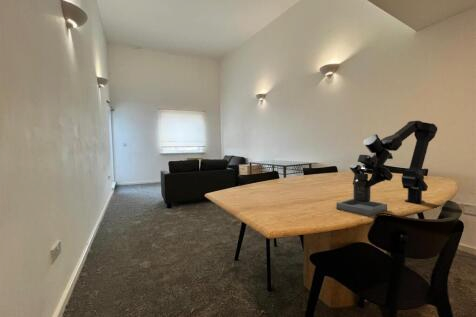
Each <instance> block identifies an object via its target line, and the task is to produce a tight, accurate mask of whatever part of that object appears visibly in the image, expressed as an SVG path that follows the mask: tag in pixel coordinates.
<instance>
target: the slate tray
mask: <svg viewBox="0 0 476 317" xmlns="http://www.w3.org/2000/svg"><path fill="white" fill-rule="evenodd" d="M335 206H336V210H338V211H339V210H340V211H343V212H348V213H351V214H352V213H353V214H357V215H360V216H365V217H368V218H370V217H373V216H376V215H378V214H377V213H379V214H382V213H384V212H386V211H387V212H388V203H384V202H377V201H372V200H370V201H369V202H358V201H355V200H354V199H353V198H349V199H346V200H342V201H339V202H336V205H335Z"/></svg>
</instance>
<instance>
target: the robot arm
mask: <svg viewBox="0 0 476 317" xmlns="http://www.w3.org/2000/svg"><path fill="white" fill-rule="evenodd" d="M437 132H438V126H437V125H436V124H434V123H430V122H424V121H421V120H410V121H408V122H407V123H406V124H405V125H404V126H403V127H401V128H400V129H399V130H397V131H396V132H395V133H394V134H391V135H388V136H386V137H383V138H381V139H380V138H379V135H378V134H376V133H375V134H372V135H370V136H369V137H367V138H365V139H364V140H363V145H364V146H365V147H366V149H367V150H368V151H369V152H370V153H371V154H370V155H367V154H359V156H358V158H357V163H361V164H362V166H363V167H362V166H361V165H360V164H351V165H350V167H349V170H350V171H351V172H352V174H354V177H353V181H352V185H353V186H354V180H356V179H357V178H356V174H358V173H363V174H368V175H371V176H370V178H369V179H368V180H369V181H368V183H367V184H366V186H365V187H366V188H369V187H373V186H375V185H377V184H379V183H381V182H385V181H388V182H389V181H391V180H392V179H393V176H394V175H393V174H392V172H391V171H390V170H389V168H388V167H386V165H385V163H386V162H387V160H393V155H392V153H391V151H392V152H393V151H394V152H395V151H398V150H399V148H400V147H402V145H403V142H404V140H406V139H407V138H408V137H410V136H411V135H413V133H414V135H413V136H414V137H415V139H416V142H415V146H414V148H413V154H412V156H411V157H412V158H411V161H410V165H409V167H408V169H404V170H403V172H402V175H401V185H402V188H403V189H407V199H405V200H404V202H405V203H407V202H408V203H413V204H419V205H420V204H422V203H425V200H424V199H423V192H426V191H428V188H429V186H428V184H427V183H426V182H425V180H424V179H425V176H424V173H423V171H422V170H423V167H424V166H423V165H424V162H425V159H426V155H427V151H428V146H429V144H430V142H431V141H432V140H434V138H435V137H436V135H437ZM422 199H423V200H422Z"/></svg>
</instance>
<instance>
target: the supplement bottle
mask: <svg viewBox="0 0 476 317" xmlns="http://www.w3.org/2000/svg"><path fill="white" fill-rule="evenodd" d="M356 178H357V179H356V180H354V179H353V180H354V185H353V190H352V191H353V194H352V195H353V198H352V199H354V200H355V201H358V202H369V201H371V191H372V190H371V187H372V186H371V187H369V188H366V187H365V186H366V184H367V183H368V181H369V180H370V179H369V174H368V173H364V174H363V173H358V174H356Z"/></svg>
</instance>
